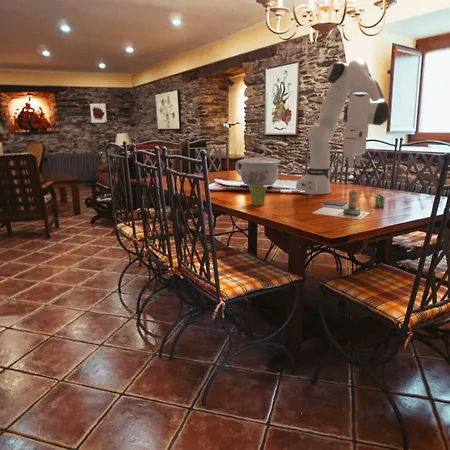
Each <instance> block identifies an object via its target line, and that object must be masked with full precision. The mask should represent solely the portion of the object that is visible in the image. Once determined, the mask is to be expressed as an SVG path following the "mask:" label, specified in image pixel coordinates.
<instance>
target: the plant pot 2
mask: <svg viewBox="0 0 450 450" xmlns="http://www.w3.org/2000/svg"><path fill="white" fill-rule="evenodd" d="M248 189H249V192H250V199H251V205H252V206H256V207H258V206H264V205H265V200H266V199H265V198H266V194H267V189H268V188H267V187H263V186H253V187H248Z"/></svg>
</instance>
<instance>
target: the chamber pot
mask: <svg viewBox="0 0 450 450" xmlns="http://www.w3.org/2000/svg"><path fill="white" fill-rule="evenodd" d="M281 162H282V161H281V159H277V158H273V157H265V156H264V155H262V154H256V155H254V157H249V158H248V157H247V158H243V159H239V160H237V161H236V162H235V166H234V168H235V171H236V173H237V174H238V175H239V176H240V179H241V181H242V183H243V184H244V185H245V184H247V185H250V186H264V185H273V184H274V185H275V183H276V182H277V180H278V176H279V166H278V164H279V163H281ZM239 164H240V165H241V166H240V169H239ZM274 185H273V186H274Z"/></svg>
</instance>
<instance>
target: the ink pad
mask: <svg viewBox="0 0 450 450" xmlns="http://www.w3.org/2000/svg"><path fill="white" fill-rule="evenodd" d="M347 206H349V202H345V201H336V200H335V201H334V200H328V201H325V202H324V203H322V204H321V205H320V208H323V207H326V208H335V209H344V208H345V207H347Z"/></svg>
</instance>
